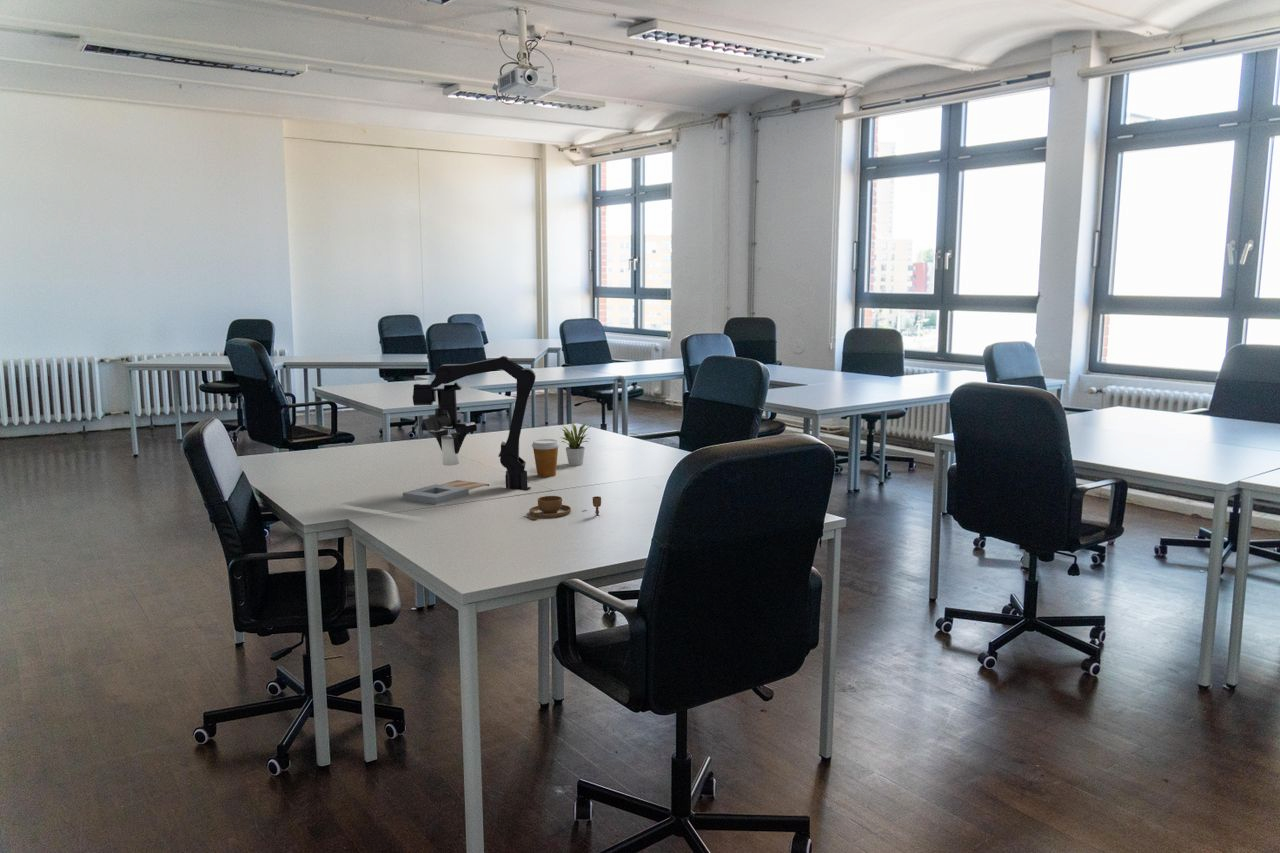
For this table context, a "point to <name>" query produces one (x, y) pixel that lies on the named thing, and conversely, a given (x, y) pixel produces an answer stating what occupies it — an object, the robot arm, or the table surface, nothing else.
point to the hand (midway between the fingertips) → (450, 453)
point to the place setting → (556, 507)
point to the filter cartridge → (449, 451)
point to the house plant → (575, 444)
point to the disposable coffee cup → (546, 456)
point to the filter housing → (435, 494)
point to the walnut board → (465, 484)
